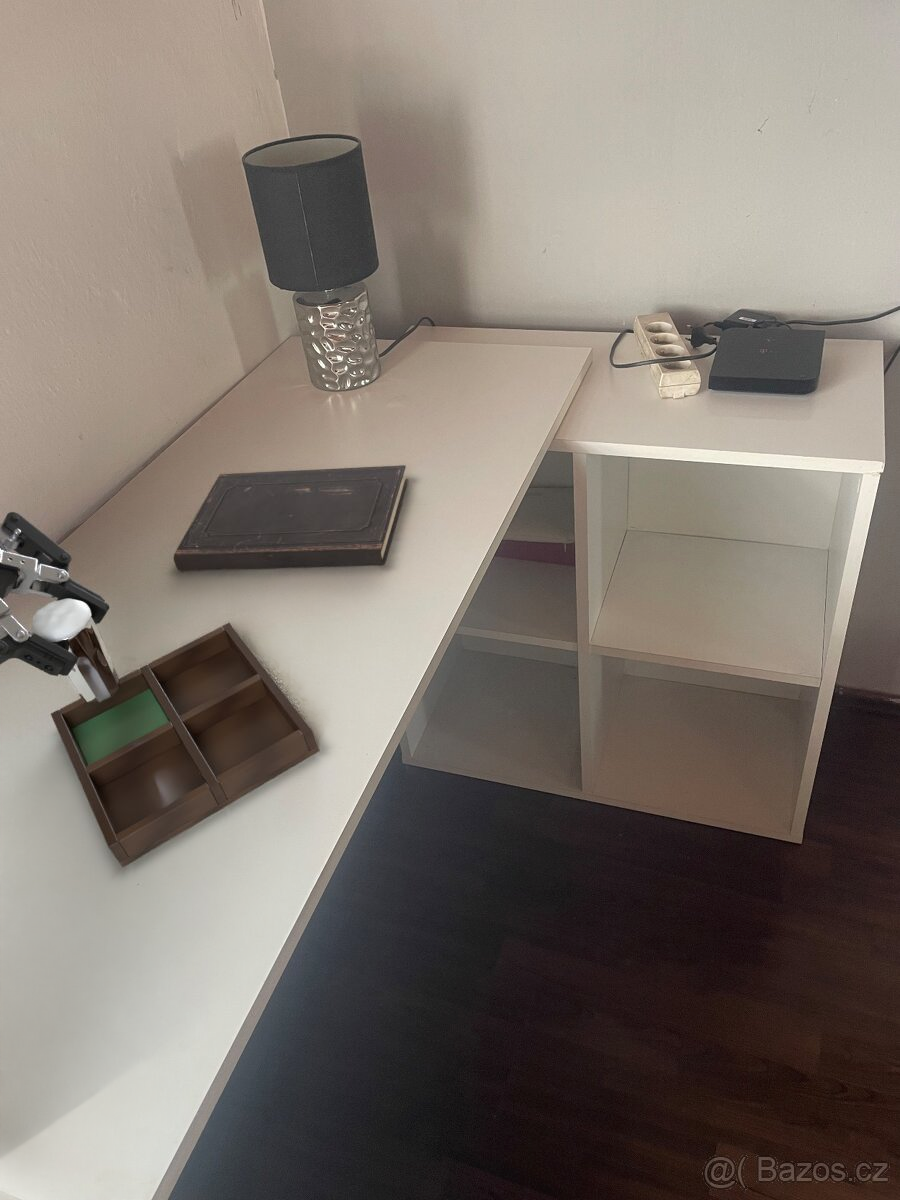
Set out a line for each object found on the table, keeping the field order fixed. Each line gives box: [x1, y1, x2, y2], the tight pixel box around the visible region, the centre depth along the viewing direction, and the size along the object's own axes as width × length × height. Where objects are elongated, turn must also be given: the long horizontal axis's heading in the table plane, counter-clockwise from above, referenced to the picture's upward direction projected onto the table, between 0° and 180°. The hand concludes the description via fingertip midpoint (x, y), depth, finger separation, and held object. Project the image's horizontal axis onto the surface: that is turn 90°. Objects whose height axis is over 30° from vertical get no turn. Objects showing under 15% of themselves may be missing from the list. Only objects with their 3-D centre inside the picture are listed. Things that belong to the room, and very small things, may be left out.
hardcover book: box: [173, 465, 409, 572], centre depth 97 cm, size 16×23×2 cm
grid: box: [50, 621, 320, 868], centre depth 74 cm, size 17×17×3 cm
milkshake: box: [25, 598, 120, 703], centre depth 69 cm, size 5×5×10 cm
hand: (88, 639), depth 68 cm, fingers closed on milkshake, 5 cm apart
